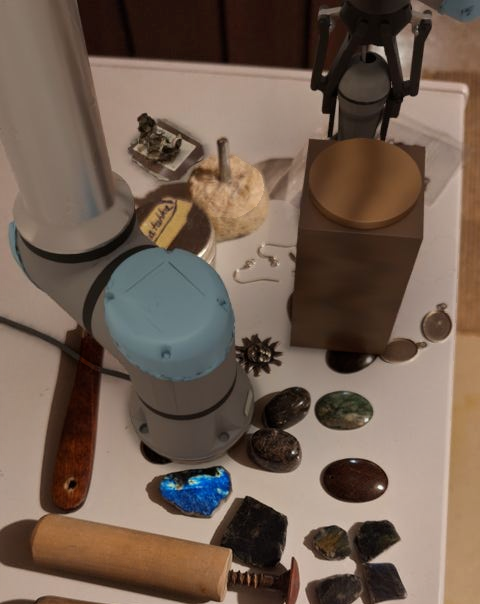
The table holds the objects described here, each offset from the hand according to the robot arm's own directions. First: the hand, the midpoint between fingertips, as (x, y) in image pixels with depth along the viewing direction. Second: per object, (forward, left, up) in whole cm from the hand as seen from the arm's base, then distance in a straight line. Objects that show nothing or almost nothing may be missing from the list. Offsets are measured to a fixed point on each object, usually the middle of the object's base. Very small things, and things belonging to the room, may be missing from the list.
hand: (356, 132), depth 91 cm
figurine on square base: (-28, -2, -4) cm, 28 cm away
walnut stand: (0, -28, -4) cm, 28 cm away
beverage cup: (0, 0, -4) cm, 4 cm away
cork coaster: (0, -28, +18) cm, 33 cm away
